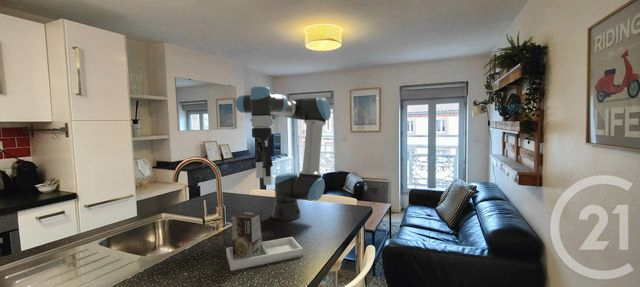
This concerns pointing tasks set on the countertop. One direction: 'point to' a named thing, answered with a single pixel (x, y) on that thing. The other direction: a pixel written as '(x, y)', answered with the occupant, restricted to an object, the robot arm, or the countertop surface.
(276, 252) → the cell crate
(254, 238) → the coffee box
